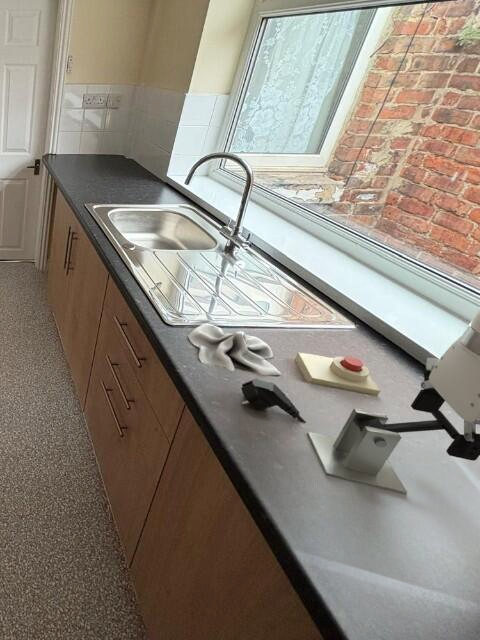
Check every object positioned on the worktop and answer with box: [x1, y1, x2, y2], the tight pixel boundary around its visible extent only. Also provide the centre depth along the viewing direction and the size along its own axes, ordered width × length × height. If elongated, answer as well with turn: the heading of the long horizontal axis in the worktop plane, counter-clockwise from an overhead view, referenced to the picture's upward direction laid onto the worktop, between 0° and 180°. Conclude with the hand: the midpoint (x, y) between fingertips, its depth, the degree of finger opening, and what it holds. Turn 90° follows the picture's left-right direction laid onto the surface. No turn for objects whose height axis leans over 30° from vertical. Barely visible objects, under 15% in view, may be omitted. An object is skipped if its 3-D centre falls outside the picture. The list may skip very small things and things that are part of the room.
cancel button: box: [341, 355, 364, 372], centre depth 90 cm, size 3×3×2 cm
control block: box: [294, 351, 381, 397], centre depth 92 cm, size 12×9×4 cm
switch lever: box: [358, 409, 461, 440], centre depth 68 cm, size 11×5×2 cm, turn 70°
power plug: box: [241, 378, 307, 424], centre depth 84 cm, size 6×8×12 cm
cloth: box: [187, 323, 282, 377], centre depth 99 cm, size 22×19×6 cm
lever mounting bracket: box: [306, 407, 408, 495], centre depth 71 cm, size 11×9×11 cm
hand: (440, 431), depth 66 cm, fingers open, 8 cm apart
